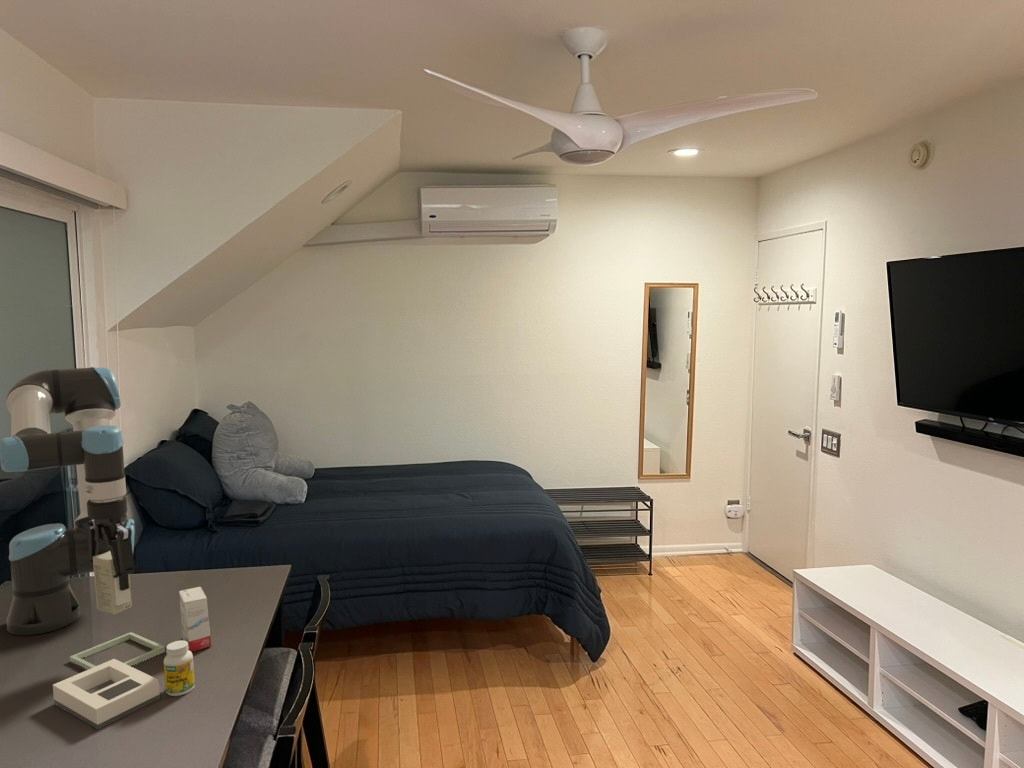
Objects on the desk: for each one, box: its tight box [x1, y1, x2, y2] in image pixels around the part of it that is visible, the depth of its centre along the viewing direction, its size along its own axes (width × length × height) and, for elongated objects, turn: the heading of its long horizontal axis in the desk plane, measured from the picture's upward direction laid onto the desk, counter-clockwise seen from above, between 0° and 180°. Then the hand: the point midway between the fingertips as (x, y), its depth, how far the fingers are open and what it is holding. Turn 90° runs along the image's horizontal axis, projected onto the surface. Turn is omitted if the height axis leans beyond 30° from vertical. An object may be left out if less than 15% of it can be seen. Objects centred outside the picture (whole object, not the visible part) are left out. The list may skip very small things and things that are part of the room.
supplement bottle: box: [163, 639, 196, 697], centre depth 144 cm, size 5×5×10 cm
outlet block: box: [52, 658, 161, 731], centre depth 140 cm, size 16×12×4 cm
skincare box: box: [93, 551, 133, 615], centre depth 156 cm, size 6×4×12 cm
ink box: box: [178, 586, 212, 653], centre depth 163 cm, size 9×5×12 cm, turn 33°
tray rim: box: [69, 631, 166, 670], centre depth 158 cm, size 14×14×1 cm
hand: (114, 599), depth 156 cm, fingers closed on skincare box, 6 cm apart
